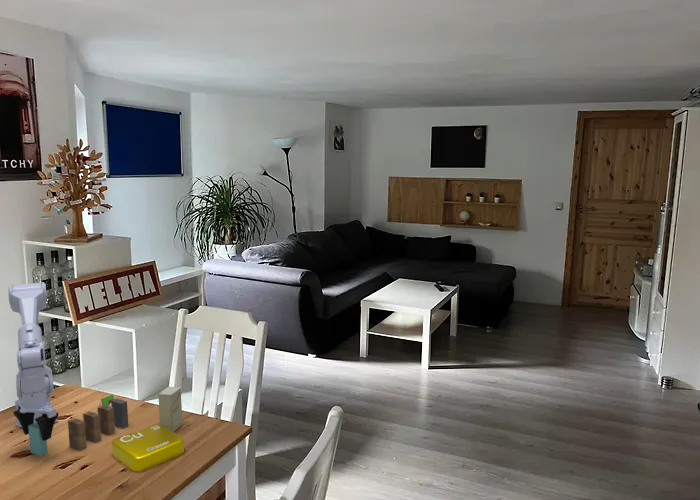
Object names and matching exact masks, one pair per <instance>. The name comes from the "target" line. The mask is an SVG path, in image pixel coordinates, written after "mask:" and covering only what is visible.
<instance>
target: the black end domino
mask: <svg viewBox="0 0 700 500" xmlns="http://www.w3.org/2000/svg"><path fill="white" fill-rule="evenodd" d="M111 406H112V407H113V408H114V421H115V428H119V429H125V428H127V427H129V412H128V401H126V400H123V399H121V398H120V399H119V398H114V400H112V401H111Z"/></svg>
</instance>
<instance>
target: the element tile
mask: <svg viewBox="0 0 700 500" xmlns="http://www.w3.org/2000/svg"><path fill="white" fill-rule="evenodd" d="M184 443H185V442H184V438H183V437H182V436H181V435H179V434H177V433H176V432H175V431H174V432H172V431H171V430H169V429H167V428H166V427H164V426H162V425H160V423H155V424H152V425H149V426H146V427H144V428H142V429H139V430H136V431H133V432H131V433H127V434H125V435H123V436H120V437H118V438H115V439H113V440H112V442H111V447H112V457H113V458H115V459H116V460H117V461H119V462H120V463H121V464H123V465H124V466H126V467H127V468H128V469H129V470H131V471H132V472H136V473H141V472H145V471H146V470H149V469H151V468H153V467H156V466H158V465H160V464H163V463H165V462H167V461H170V460H172V459H174V458H177V457H179V456H181V455H183V454H184V453H185V444H184Z"/></svg>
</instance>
